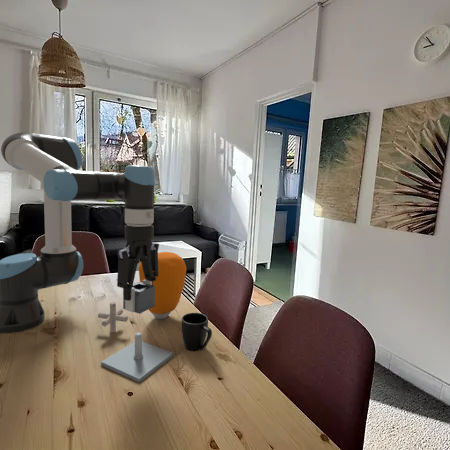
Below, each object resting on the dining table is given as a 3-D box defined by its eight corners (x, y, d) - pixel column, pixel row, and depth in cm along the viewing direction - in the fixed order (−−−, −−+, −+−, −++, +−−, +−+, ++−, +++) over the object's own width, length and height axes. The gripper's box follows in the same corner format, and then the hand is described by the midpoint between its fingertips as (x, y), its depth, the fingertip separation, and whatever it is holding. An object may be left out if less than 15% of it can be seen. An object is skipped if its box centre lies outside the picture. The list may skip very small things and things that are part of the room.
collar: (123, 308, 84) (123, 287, 83) (138, 301, 89) (138, 281, 88) (139, 313, 81) (139, 292, 80) (154, 306, 86) (155, 285, 85)
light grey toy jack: (118, 340, 97) (118, 311, 96) (90, 336, 99) (90, 307, 98) (133, 326, 107) (133, 299, 106) (108, 322, 109) (107, 295, 107)
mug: (196, 363, 87) (197, 332, 86) (176, 344, 97) (176, 316, 95) (219, 354, 93) (220, 324, 91) (197, 337, 102) (198, 310, 100)
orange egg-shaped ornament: (170, 305, 127) (172, 246, 123) (193, 320, 114) (195, 255, 110) (130, 315, 116) (131, 250, 112) (150, 333, 103) (152, 261, 99)
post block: (101, 365, 84) (100, 338, 83) (137, 342, 97) (137, 318, 96) (139, 382, 78) (139, 353, 77) (173, 356, 90) (173, 330, 89)
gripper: (122, 229, 72) (122, 322, 75) (172, 222, 88) (170, 298, 92) (100, 226, 75) (101, 315, 78) (152, 219, 92) (151, 293, 95)
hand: (138, 306), depth 85 cm, fingers closed on collar, 6 cm apart
